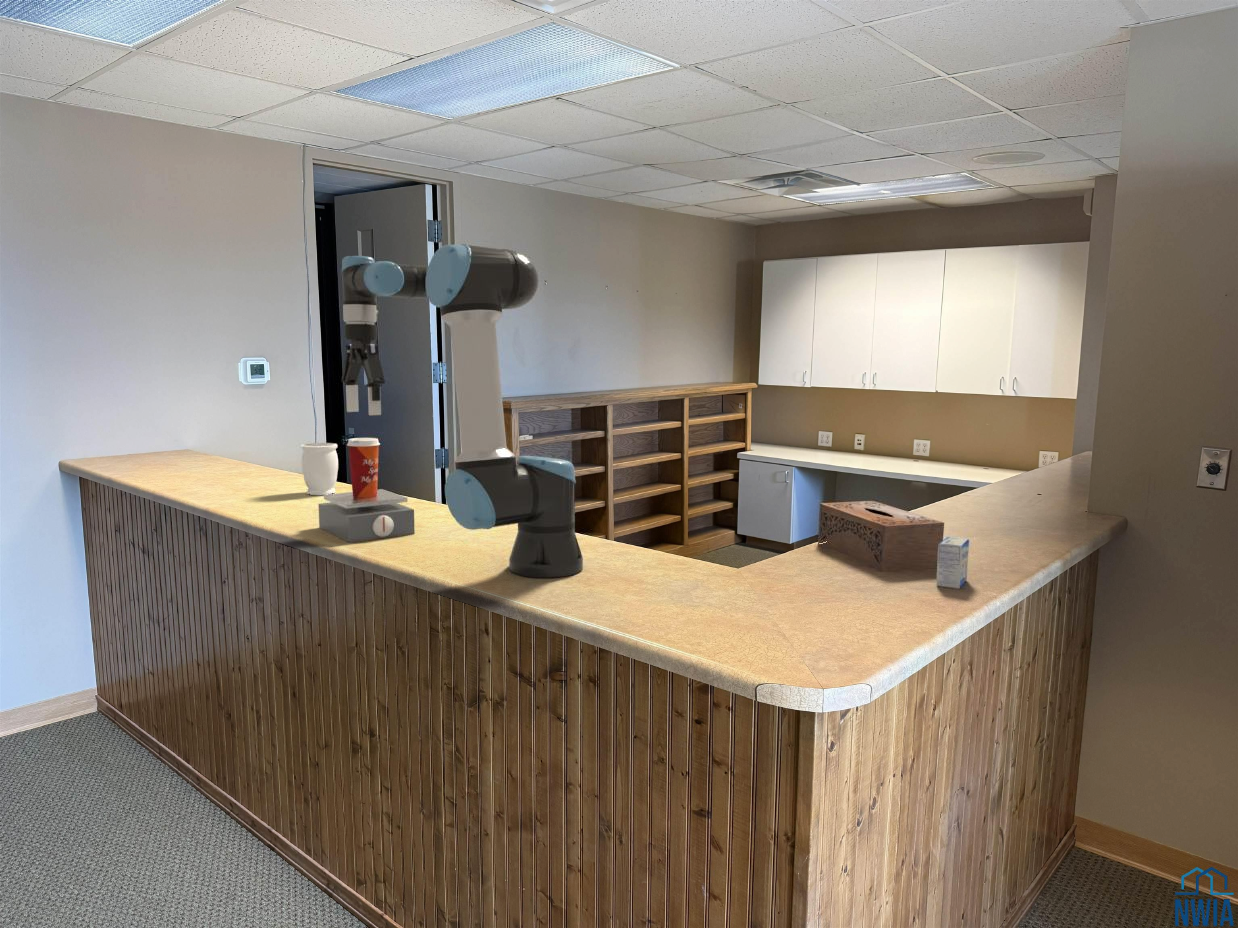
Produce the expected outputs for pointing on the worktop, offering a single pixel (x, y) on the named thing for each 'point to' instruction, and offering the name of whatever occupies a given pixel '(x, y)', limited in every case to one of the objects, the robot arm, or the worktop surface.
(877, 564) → the tissue box cover
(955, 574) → the medicine box
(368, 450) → the paper cup
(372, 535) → the scale base
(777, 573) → the worktop surface
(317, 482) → the jar
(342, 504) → the scale pan
